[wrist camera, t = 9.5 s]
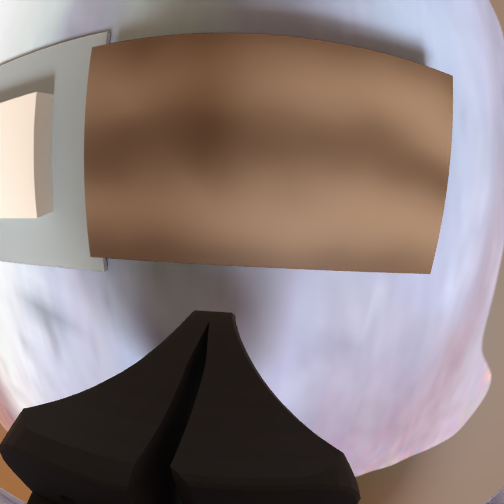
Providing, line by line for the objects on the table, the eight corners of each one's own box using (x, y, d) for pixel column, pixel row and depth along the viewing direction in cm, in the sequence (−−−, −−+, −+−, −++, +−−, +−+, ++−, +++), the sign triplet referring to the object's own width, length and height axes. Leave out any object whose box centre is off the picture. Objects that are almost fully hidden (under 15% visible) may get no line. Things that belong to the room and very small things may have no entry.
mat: (107, 268, 19) (104, 271, 19) (3, 259, 19) (-1, 261, 19) (110, 33, 14) (107, 31, 14) (-1, 68, 14) (-5, 67, 13)
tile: (-16, 218, 15) (0, 211, 17) (36, 218, 15) (53, 211, 17) (-19, 109, 13) (-2, 110, 15) (36, 91, 13) (53, 94, 15)
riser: (409, 256, 19) (430, 273, 16) (110, 241, 19) (90, 257, 16) (427, 82, 15) (452, 75, 12) (113, 58, 15) (92, 47, 12)
